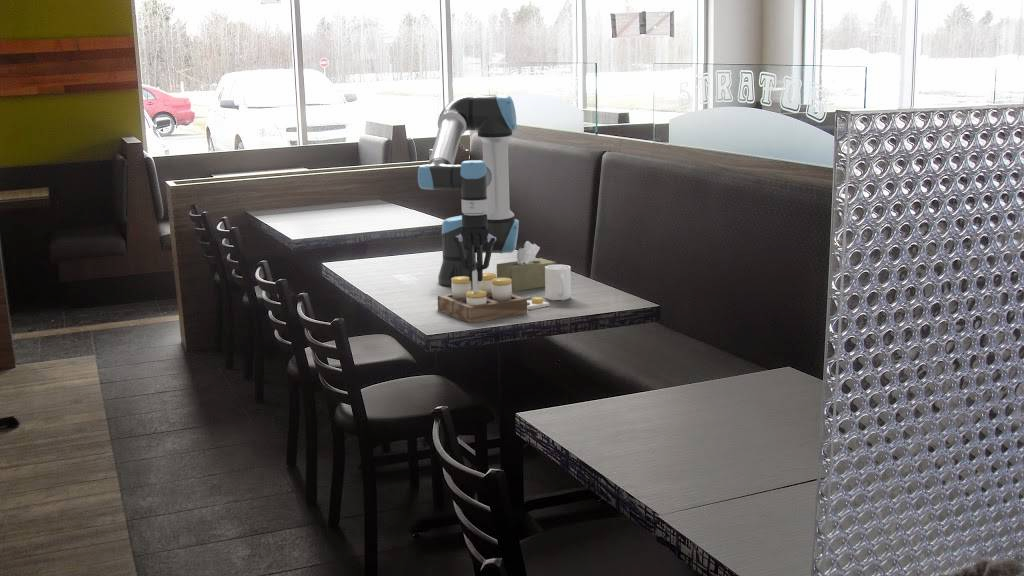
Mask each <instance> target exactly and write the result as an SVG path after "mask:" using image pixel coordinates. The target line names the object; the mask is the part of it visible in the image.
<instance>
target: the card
mask: <svg viewBox="0 0 1024 576" xmlns="http://www.w3.org/2000/svg"><path fill="white" fill-rule="evenodd" d="M522 297H523V298H526V299H527V311H528V310H534V309H539V308H540V309H541V308H545V307H546V306H547V307H550V302H547V301H544V298H543V297H540V296H539V297H536V296H535V297H532V296H529V295H526V296H522Z"/></svg>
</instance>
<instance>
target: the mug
mask: <svg viewBox="0 0 1024 576" xmlns="http://www.w3.org/2000/svg"><path fill="white" fill-rule="evenodd" d="M571 270H572V269H571V266H570V265H567V264H556V265H548V266H545V286H544V295H545V296H544V297H545V298H546V299H547V300H549V301H555V300H561V301H566V299H567V300H569V299H570V298H571V296H572V295H571V294H572V291H571V288H572V287H571V286H572V284H571V275H572V274H571V273H572V272H571Z"/></svg>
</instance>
